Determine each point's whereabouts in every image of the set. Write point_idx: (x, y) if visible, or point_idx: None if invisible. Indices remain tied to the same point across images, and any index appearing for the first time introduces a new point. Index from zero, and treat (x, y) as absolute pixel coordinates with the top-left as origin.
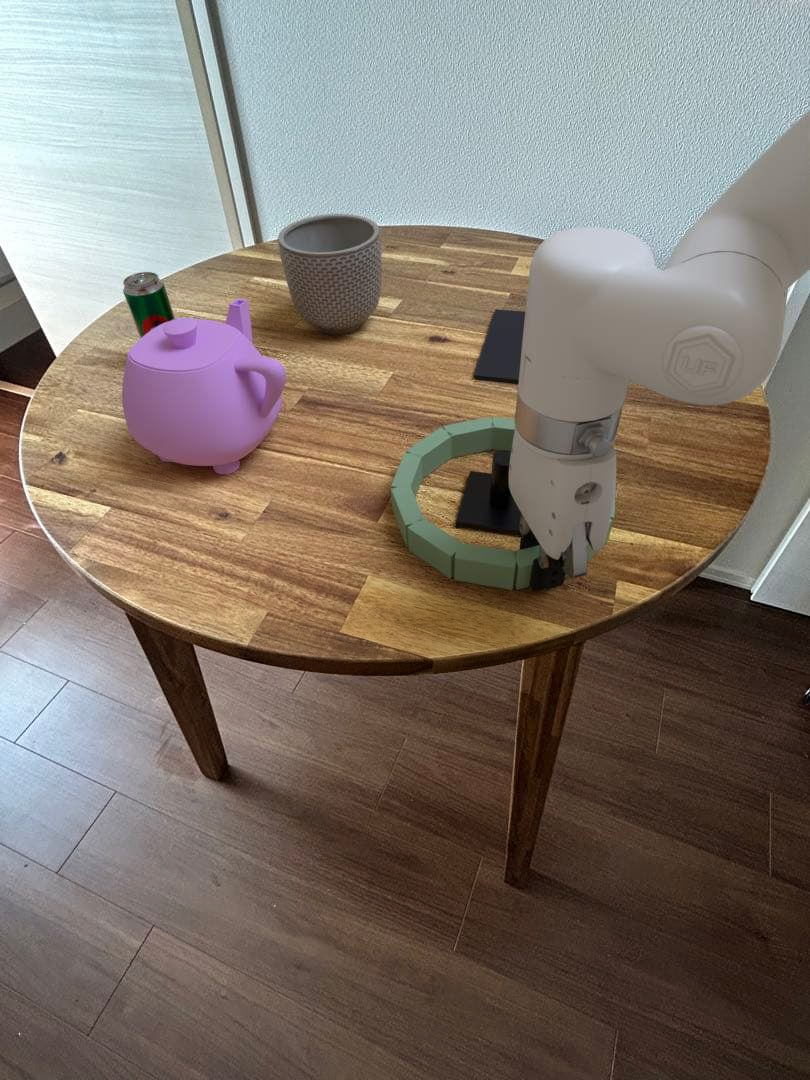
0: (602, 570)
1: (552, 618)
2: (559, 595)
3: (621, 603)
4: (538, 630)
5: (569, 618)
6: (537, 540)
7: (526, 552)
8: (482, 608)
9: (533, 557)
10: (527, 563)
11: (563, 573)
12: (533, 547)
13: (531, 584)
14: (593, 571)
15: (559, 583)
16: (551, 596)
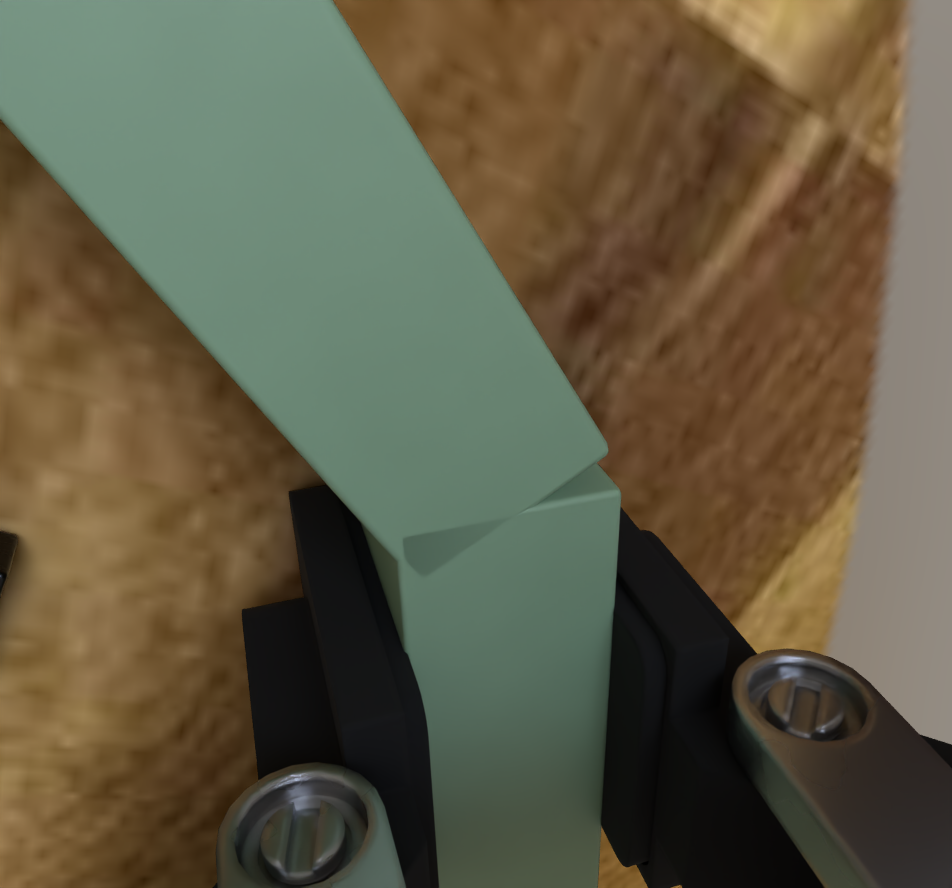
0: (518, 63)
1: (761, 551)
2: (630, 476)
3: (859, 65)
4: (794, 630)
5: (802, 462)
6: (435, 851)
7: (469, 859)
8: None
9: (541, 820)
10: (579, 853)
11: None
12: (436, 818)
13: None
14: (506, 153)
15: (651, 536)
16: None
